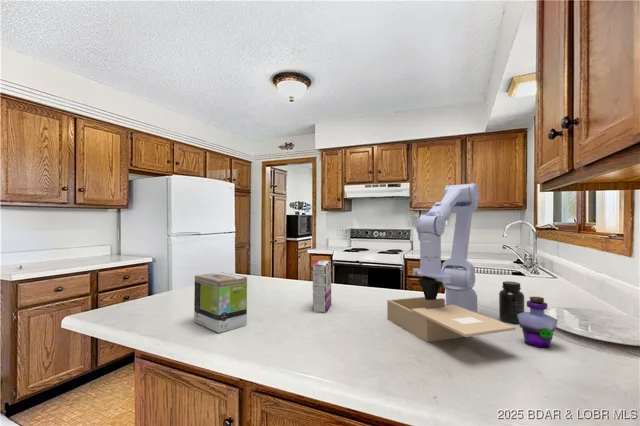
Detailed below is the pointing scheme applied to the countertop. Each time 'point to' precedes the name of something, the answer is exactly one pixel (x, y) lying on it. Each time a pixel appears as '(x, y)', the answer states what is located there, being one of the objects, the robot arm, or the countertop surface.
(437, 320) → the mailer lid
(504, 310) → the supplement bottle
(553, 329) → the potion bottle
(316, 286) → the candy bar box
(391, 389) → the countertop surface
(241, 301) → the tea box
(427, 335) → the mailer box
